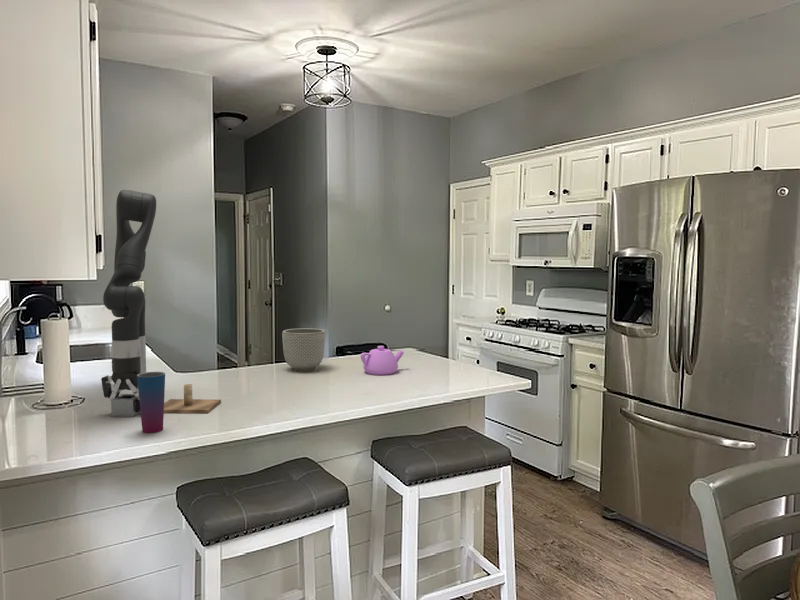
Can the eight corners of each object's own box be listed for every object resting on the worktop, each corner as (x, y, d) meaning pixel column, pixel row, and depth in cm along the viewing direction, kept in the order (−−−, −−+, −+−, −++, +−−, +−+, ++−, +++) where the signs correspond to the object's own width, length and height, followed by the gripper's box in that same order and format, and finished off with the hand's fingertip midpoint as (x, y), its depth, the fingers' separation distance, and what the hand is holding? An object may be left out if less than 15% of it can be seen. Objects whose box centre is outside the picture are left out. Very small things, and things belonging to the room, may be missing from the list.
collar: (111, 416, 160) (111, 399, 159) (122, 410, 166) (122, 394, 166) (133, 416, 160) (132, 399, 159) (143, 410, 166) (142, 394, 166)
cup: (144, 426, 151) (142, 371, 150) (170, 425, 151) (168, 371, 150) (134, 434, 144) (132, 377, 143) (161, 433, 145) (160, 376, 144)
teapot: (412, 372, 224) (412, 346, 223) (369, 378, 213) (369, 350, 212) (393, 366, 236) (393, 341, 235) (352, 371, 224) (352, 345, 224)
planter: (273, 370, 226) (273, 330, 225) (306, 364, 240) (306, 326, 238) (301, 376, 215) (300, 335, 214) (334, 369, 228) (334, 330, 227)
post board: (153, 412, 164) (152, 389, 163) (170, 402, 176) (169, 380, 175) (207, 413, 164) (207, 389, 163) (221, 402, 176) (220, 380, 175)
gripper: (94, 357, 158) (96, 415, 159) (144, 357, 158) (146, 415, 159) (108, 352, 165) (110, 408, 167) (156, 352, 165) (158, 408, 166)
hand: (127, 411), depth 163 cm, fingers closed on collar, 6 cm apart
